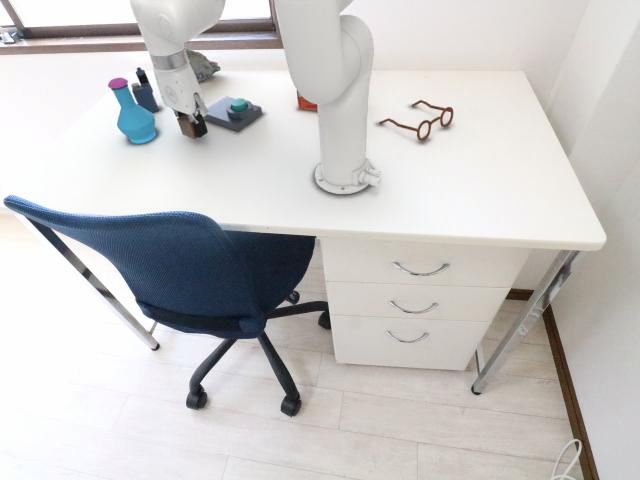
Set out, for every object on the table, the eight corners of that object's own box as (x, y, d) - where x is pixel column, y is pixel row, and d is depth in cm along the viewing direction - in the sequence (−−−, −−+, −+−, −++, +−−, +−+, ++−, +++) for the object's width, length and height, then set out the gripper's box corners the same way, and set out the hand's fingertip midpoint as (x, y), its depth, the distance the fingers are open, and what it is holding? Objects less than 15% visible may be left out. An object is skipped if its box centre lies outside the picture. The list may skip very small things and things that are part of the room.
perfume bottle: (150, 147, 95) (123, 91, 84) (118, 145, 97) (88, 89, 86) (166, 127, 101) (144, 72, 90) (136, 125, 103) (110, 71, 91)
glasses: (418, 145, 89) (421, 126, 85) (378, 124, 96) (379, 106, 92) (452, 124, 94) (457, 105, 90) (413, 105, 101) (415, 87, 97)
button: (250, 106, 99) (248, 100, 98) (240, 113, 97) (238, 107, 95) (239, 102, 101) (237, 96, 99) (228, 109, 98) (227, 103, 97)
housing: (263, 114, 103) (261, 101, 100) (239, 132, 97) (236, 118, 94) (228, 103, 108) (224, 90, 105) (203, 119, 103) (199, 106, 100)
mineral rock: (223, 74, 121) (215, 41, 114) (211, 90, 114) (202, 56, 107) (187, 73, 123) (176, 41, 116) (173, 88, 116) (161, 55, 109)
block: (208, 130, 95) (202, 114, 91) (195, 139, 92) (189, 123, 89) (195, 126, 96) (190, 110, 93) (182, 134, 94) (176, 118, 91)
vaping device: (160, 110, 107) (143, 69, 99) (142, 115, 106) (123, 73, 97) (160, 106, 109) (143, 65, 100) (141, 111, 108) (122, 69, 99)
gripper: (131, 57, 82) (161, 130, 96) (183, 73, 75) (208, 149, 89) (158, 45, 86) (183, 116, 100) (209, 59, 79) (230, 134, 93)
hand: (195, 131), depth 94 cm, fingers closed on block, 4 cm apart
